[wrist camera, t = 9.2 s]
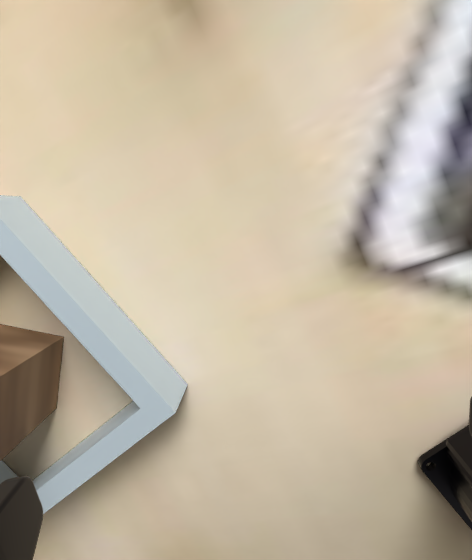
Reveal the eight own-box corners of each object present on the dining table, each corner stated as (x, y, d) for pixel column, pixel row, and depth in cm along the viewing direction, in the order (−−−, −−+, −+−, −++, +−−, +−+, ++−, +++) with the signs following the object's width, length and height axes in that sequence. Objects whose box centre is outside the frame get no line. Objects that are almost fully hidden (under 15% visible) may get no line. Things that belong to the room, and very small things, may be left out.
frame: (187, 384, 21) (175, 412, 18) (27, 509, 23) (-8, 552, 20) (20, 196, 20) (-23, 194, 17) (-132, 348, 22) (-194, 369, 19)
